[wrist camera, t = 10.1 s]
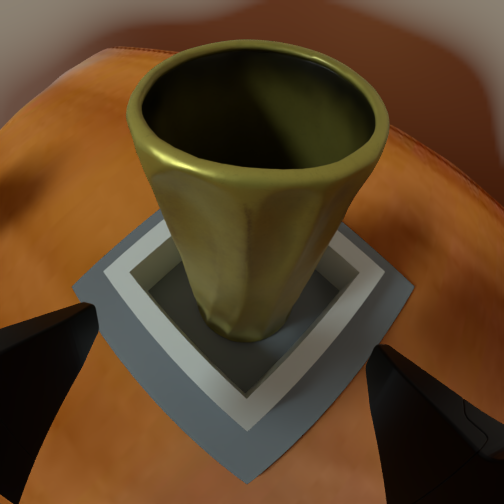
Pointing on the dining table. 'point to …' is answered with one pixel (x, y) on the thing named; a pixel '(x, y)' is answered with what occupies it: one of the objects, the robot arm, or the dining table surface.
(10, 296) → the dining table surface
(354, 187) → the vase
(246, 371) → the holder
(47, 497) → the dining table surface
